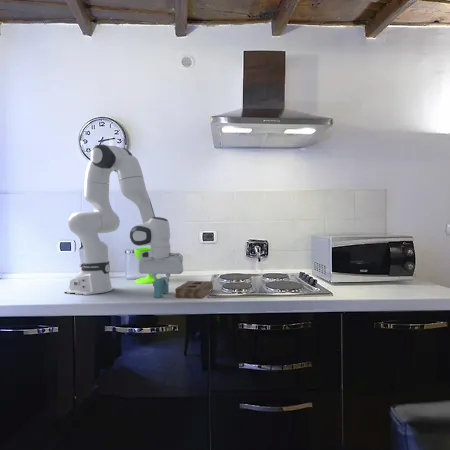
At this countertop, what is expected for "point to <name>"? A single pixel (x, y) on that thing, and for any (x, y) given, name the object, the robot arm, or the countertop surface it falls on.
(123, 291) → the countertop surface
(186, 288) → the wooden board with holes
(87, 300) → the countertop surface
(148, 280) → the wineglass
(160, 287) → the teal long block
